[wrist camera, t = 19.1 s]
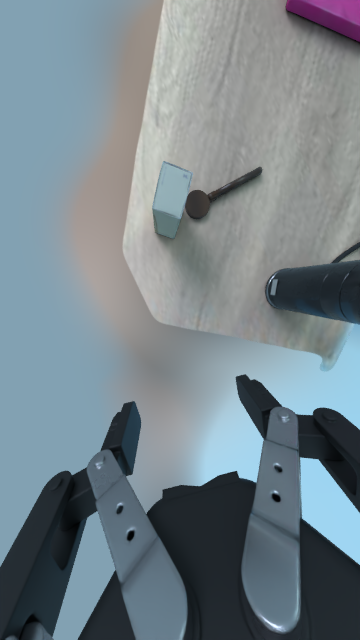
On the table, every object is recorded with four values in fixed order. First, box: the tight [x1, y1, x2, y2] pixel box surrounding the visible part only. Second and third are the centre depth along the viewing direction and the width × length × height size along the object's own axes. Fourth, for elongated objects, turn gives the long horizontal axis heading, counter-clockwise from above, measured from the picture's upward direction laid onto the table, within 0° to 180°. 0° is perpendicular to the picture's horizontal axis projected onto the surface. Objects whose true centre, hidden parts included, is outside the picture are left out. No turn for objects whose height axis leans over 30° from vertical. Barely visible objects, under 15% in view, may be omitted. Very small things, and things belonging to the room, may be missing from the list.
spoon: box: [185, 167, 262, 219], centre depth 34 cm, size 17×5×1 cm, turn 118°
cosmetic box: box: [152, 161, 193, 239], centre depth 29 cm, size 6×4×12 cm
